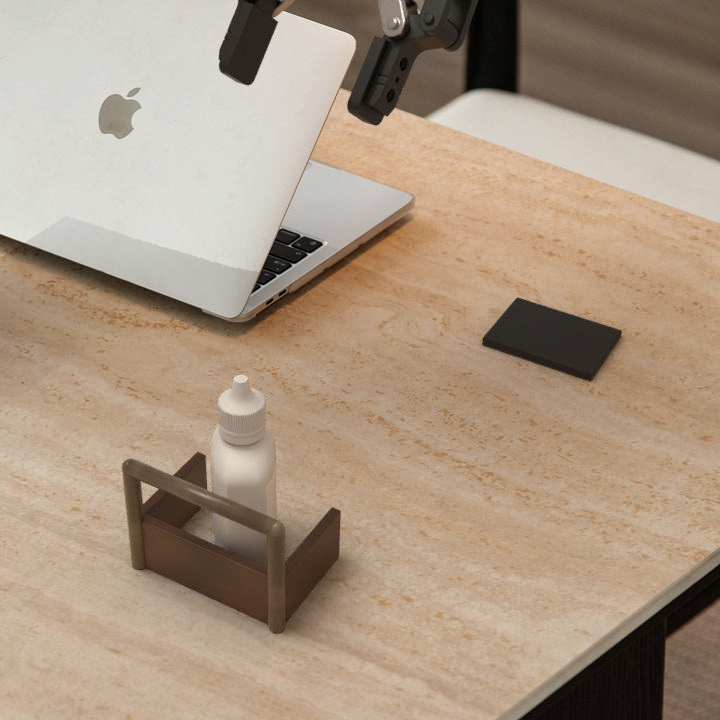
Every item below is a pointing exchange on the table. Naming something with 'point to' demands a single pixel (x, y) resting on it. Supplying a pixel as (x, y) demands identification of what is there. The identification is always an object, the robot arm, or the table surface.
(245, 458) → the eye dropper bottle
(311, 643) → the table surface
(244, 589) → the caddy
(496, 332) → the mat
